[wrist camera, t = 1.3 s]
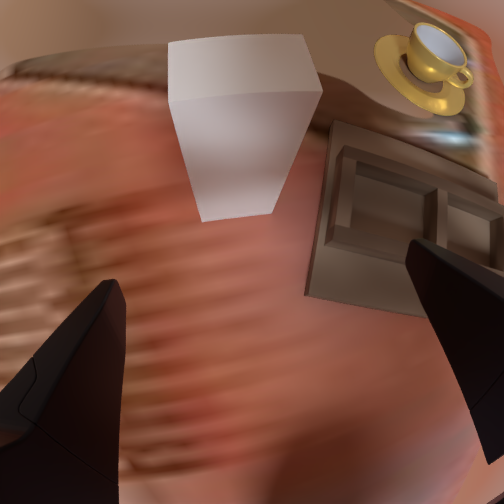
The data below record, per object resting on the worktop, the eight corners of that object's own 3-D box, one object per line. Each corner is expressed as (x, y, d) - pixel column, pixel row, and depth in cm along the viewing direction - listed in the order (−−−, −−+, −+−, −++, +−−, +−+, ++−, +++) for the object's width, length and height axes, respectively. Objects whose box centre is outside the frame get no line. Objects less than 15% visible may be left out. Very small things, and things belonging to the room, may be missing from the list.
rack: (485, 327, 23) (509, 327, 20) (304, 295, 22) (315, 292, 19) (489, 187, 25) (509, 176, 22) (330, 126, 25) (341, 105, 22)
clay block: (271, 213, 23) (323, 90, 9) (202, 221, 23) (168, 102, 9) (265, 175, 24) (302, 34, 10) (198, 183, 23) (168, 42, 10)
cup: (356, 68, 27) (374, 32, 22) (390, 24, 29) (406, -5, 24) (452, 138, 26) (482, 112, 21) (468, 81, 29) (491, 57, 23)
